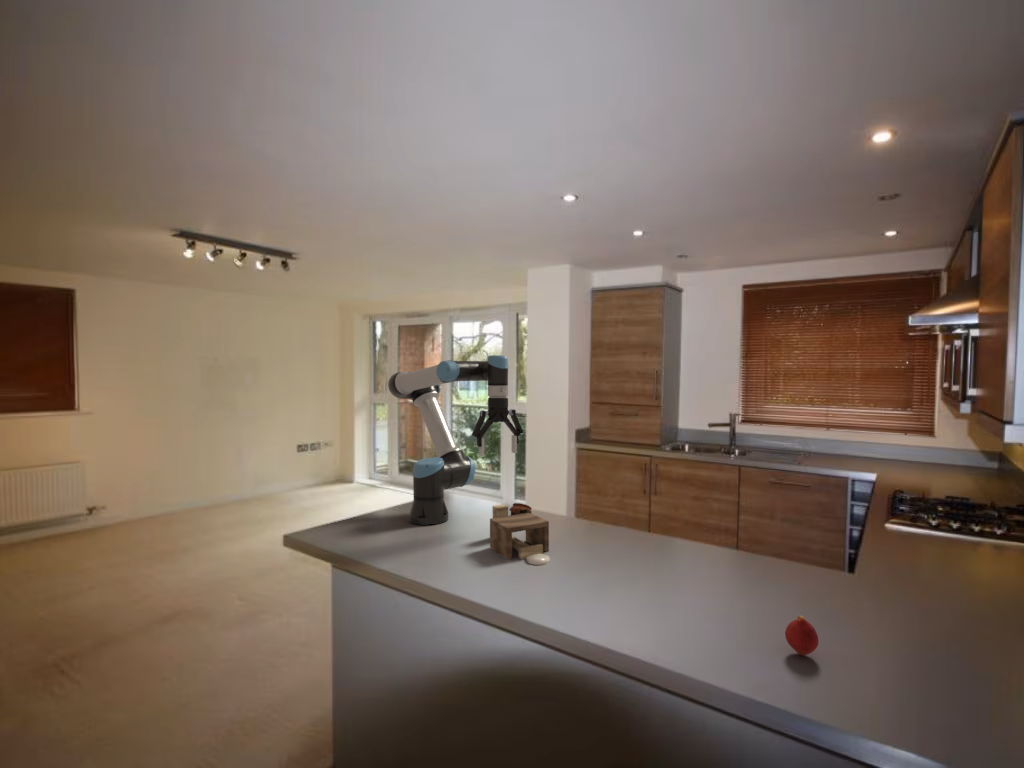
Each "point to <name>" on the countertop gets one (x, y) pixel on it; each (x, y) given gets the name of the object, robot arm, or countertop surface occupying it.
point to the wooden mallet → (522, 547)
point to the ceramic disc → (538, 559)
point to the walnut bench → (506, 525)
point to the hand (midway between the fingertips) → (498, 454)
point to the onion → (801, 636)
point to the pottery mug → (520, 509)
